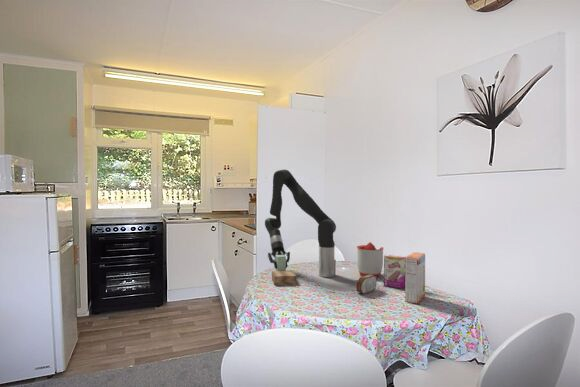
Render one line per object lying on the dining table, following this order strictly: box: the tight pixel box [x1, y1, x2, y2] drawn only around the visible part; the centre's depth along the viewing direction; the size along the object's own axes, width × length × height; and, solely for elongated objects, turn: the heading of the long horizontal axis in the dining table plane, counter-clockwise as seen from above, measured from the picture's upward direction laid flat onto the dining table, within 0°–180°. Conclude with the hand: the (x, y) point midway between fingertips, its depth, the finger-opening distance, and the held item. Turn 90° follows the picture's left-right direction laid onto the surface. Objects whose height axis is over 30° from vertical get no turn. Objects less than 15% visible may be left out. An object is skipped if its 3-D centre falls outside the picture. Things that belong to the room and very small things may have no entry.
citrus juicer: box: [356, 241, 384, 278], centre depth 200 cm, size 16×17×20 cm
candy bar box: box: [383, 254, 408, 289], centre depth 178 cm, size 11×5×16 cm, turn 65°
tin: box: [356, 274, 378, 295], centre depth 168 cm, size 15×3×8 cm, turn 134°
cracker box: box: [404, 252, 426, 304], centre depth 158 cm, size 14×6×21 cm, turn 144°
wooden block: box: [271, 269, 298, 286], centre depth 185 cm, size 12×12×5 cm
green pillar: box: [274, 254, 287, 271], centre depth 197 cm, size 5×5×12 cm
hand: (281, 267), depth 195 cm, fingers closed on green pillar, 5 cm apart
